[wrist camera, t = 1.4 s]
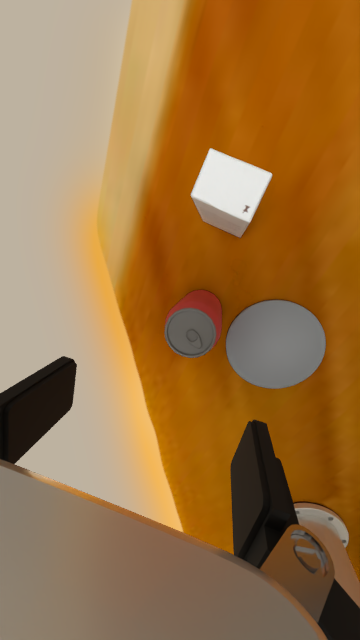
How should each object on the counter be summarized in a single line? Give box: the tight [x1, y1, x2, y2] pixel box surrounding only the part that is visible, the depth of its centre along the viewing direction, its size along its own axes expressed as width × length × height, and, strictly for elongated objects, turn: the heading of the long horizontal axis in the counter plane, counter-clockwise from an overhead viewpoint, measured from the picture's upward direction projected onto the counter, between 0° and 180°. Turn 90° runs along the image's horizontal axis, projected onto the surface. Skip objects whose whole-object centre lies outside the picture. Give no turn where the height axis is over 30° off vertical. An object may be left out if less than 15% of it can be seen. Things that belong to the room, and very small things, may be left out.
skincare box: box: [191, 148, 272, 238], centre depth 25 cm, size 6×4×12 cm
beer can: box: [165, 290, 222, 358], centre depth 29 cm, size 7×7×12 cm
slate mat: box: [226, 300, 326, 389], centre depth 33 cm, size 14×14×1 cm
